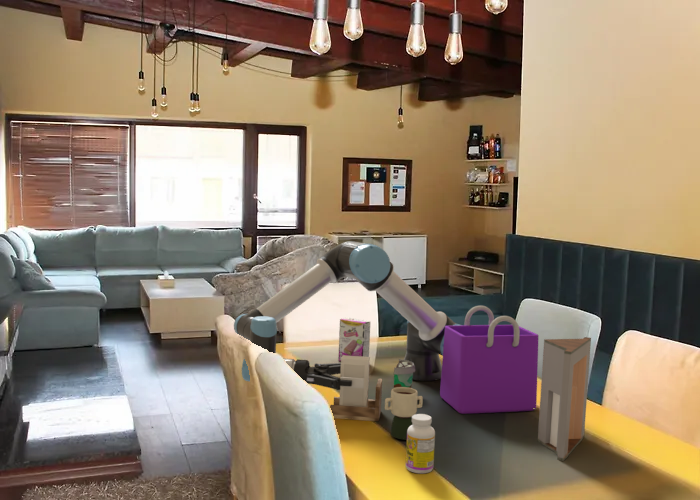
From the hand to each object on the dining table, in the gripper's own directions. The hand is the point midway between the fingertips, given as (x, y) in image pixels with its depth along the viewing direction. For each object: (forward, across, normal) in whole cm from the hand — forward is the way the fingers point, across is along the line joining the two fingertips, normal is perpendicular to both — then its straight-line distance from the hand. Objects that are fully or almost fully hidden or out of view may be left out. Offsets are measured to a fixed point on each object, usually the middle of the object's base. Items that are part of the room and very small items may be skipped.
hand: (366, 376), depth 204 cm
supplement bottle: (+17, +36, -12) cm, 41 cm away
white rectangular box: (-3, 0, -10) cm, 11 cm away
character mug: (+12, +16, -12) cm, 23 cm away
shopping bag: (+37, -19, -12) cm, 43 cm away
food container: (+11, -24, -12) cm, 29 cm away
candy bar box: (-10, -60, -12) cm, 62 cm away
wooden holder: (-3, 0, -12) cm, 12 cm away
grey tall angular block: (+53, +12, -12) cm, 55 cm away
